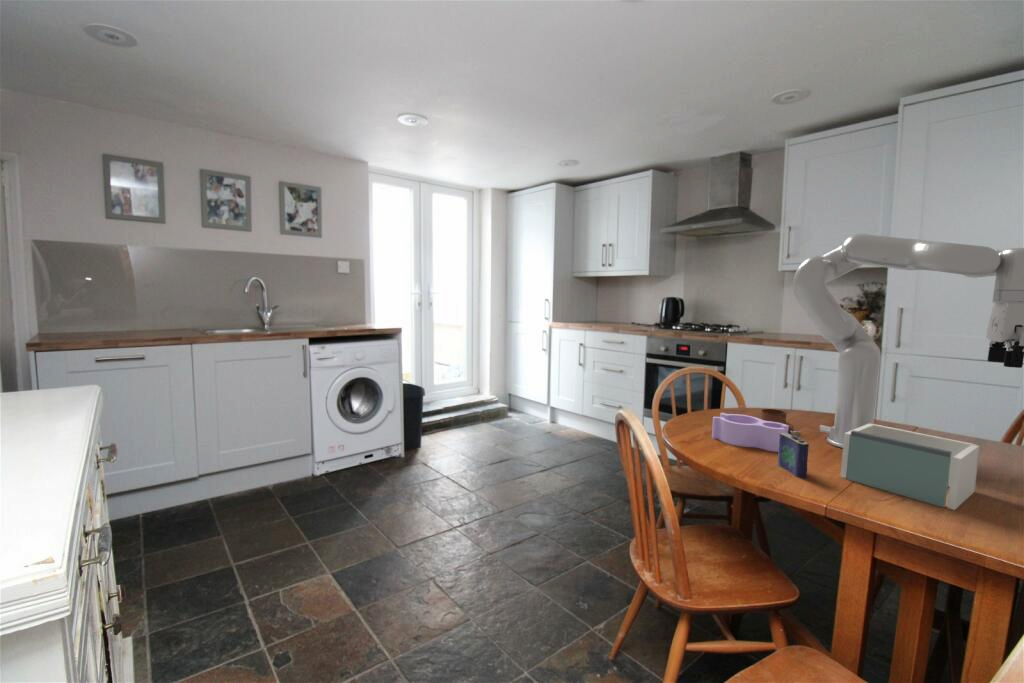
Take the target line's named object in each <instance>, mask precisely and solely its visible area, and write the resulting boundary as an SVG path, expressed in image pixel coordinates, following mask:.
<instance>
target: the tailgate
mask: <svg viewBox="0 0 1024 683" xmlns="http://www.w3.org/2000/svg"><path fill="white" fill-rule="evenodd" d="M951 454H952V452H951V451H946V450H942V449H937V448H932V447H928V446H923V445H918V444H914V443H909V442H905V441H900V440H895V439H891V438H886V437H881V436H877V435H872V434H867V433H863V432H858V431H851V439H850V450H849V461H848V472H847V478H846V480H847V481H850V482H851V481H852V482H854V483H858V484H863V485H864V486H869V487H872V488H876V489H878V490H883V491H886V492H889V493H893V494H896V495H899V496H903V497H906V498H910V499H913V500H917V501H920V502H924V503H926V504H931V505H933V506H938V507H939V508H940V507H941V508H945V507H946V506H947V504H946V503H947V496H948V490H949V488H948V480H949V471H950V462H951Z"/></svg>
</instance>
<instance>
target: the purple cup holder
mask: <svg viewBox="0 0 1024 683" xmlns="http://www.w3.org/2000/svg"><path fill="white" fill-rule="evenodd" d="M719 414H720V415H719V416H713V417H712V428H711V438H712V439H715V440H716V439H717V440H719V441H720V442H722V443H725V444H727V445H731V446H736V447H742V448H743V447H744V448H756V449H757V448H758V449H761V450H765V451H768V452H769V451H770V452H774V453H775V452H776V453H778V450H779V434H780V433H787V434H789V431H788V429H789V426H788V425H785V424H782V423H778V422H771V421H765V420H761V418H759V417H755V416H751V415H746V414H739V413H738V414H736V413H725V412H720V413H719Z"/></svg>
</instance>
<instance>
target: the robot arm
mask: <svg viewBox="0 0 1024 683" xmlns="http://www.w3.org/2000/svg"><path fill="white" fill-rule="evenodd" d="M863 265H867V266H873V267H881V268H886V269H887V268H888V269H896V270H901V271H930V272H931V271H933V272H941V273H948V274H949V273H950V274H954V275H956V274H957V275H962V276H964V277H966V278H973V279H974V278H976V279H977V278H985V277H995V280H994V287H993V288H994V289H993V294H992V300H991V302H992V304H993V306H992V309H991V313H990V317H989V321H988V327H987V331H986V338H987V339H988V340H989V343H988V344H989V347H988V353H987V361H988V362H989V363H1001V364H1002V363H1003V366H1004V367H1005V368H1019V369H1021V368H1023V364H1024V247H1013V248H1006V249H1003V250H998V249H997V250H996V249H994V248H991V247H988V246H983V245H975V244H973V245H972V244H966V243H965V244H964V243H963V244H962V243H954V242H944V241H930V240H925V239H924V240H923V239H918V238H917V239H913V238H904V237H897V236H896V237H895V236H894V237H893V236H887V235H886V236H884V235H876V234H865V233H858V234H853V235H850V236H848V237H847V238H845V240H844V241H843V243H842V245H840V246H838V247H836V248H835V249H833V250H831V251H829V252H827V253H825V254H823V255H814V256H810V257H808V258H806V259H805V260H803V261H802V262H801V264H800V265H799V266H798V267H797V269H796V271H795V273H794V277H793V281H792V287H793V288H792V289H793V293H794V296H795V298H796V300H797V301H798V303H799V304H800V306H801V307H802V309H803V310H804V312H805V313H806V315H807V316H808V318H809V319H810V320H811V322H812V323H813V325H814V326H815V327H816V329H817V330H818V332H819V333H820V335H821V336H822V338H824V339H825V340H827V341H828V342H830V343H831V344H832V345H833V346H834V348H835V350H836V351H837V352H838V353H839V357H838V367H837V368H838V369H837V370H838V371H837V387H836V402H835V412H834V413H835V414H834V422H833V423H834V424H833V426H828V425H824V424H820V425H819V428H818V430H819V432H820V433H824V434H828V436H827V437H826V442H828V444H830V445H833V446H835V447H838V448H841V449H843V442H844V433H846V432H849V431H851V430H854V429H856V428H859V427H861V426H864V425H866V424H869V423H871V424H875V423H874V421H875V411H876V400H877V391H878V390H877V389H878V380H879V378H878V377H879V369H880V363H881V356H882V353H881V350H880V348H879V347H878V345H877V344H876V342H875V341H874V340H873V338H872V337H871V336H870V334H868V332H867V331H866V330H865V328H864V327H863V326H862V324H861V323H860V322H859V320H858V319H857V318H856V316H854V314H851V313H850V312H848V311H846V310H844V309H843V308H842V306H841V304H840V303H838V301H837V300H836V298H835V297H834V295H833V294H832V293H831V292H830V290H829V289H828V287H827V283H829V282H832V281H835V280H836V279H837V278H839V277H842V276H843V275H846V274H847V273H849V272H852V271H854V270H855V269H857V268H860V267H862V266H863ZM1006 346H1007V347H1006Z"/></svg>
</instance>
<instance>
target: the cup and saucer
mask: <svg viewBox="0 0 1024 683" xmlns="http://www.w3.org/2000/svg"><path fill="white" fill-rule="evenodd" d="M760 419H761V420H765V421H771V422H778V423H782V424H785V425H788V426H789V429H788V432H790V431H793V429H794V428H795V426H794V425H793V424H792V423H789V422H787V412H786V411H784V410H780V409H772V408H764V409H762V410H761V418H760Z"/></svg>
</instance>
